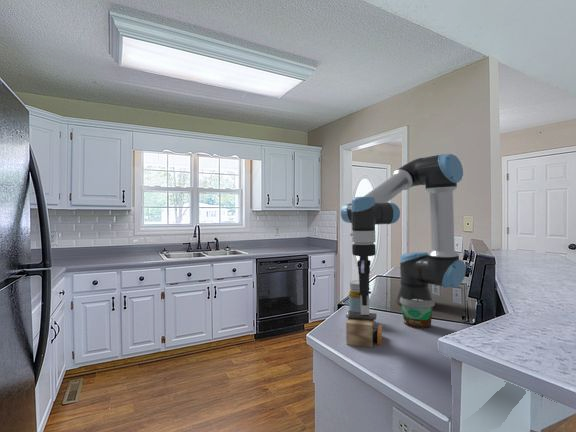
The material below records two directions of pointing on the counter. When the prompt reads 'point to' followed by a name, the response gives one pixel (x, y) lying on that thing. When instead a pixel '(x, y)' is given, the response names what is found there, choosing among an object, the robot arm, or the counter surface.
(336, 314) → the counter surface
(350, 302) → the bottle
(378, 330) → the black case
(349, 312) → the keeper
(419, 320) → the food container
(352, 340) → the block
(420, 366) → the counter surface
